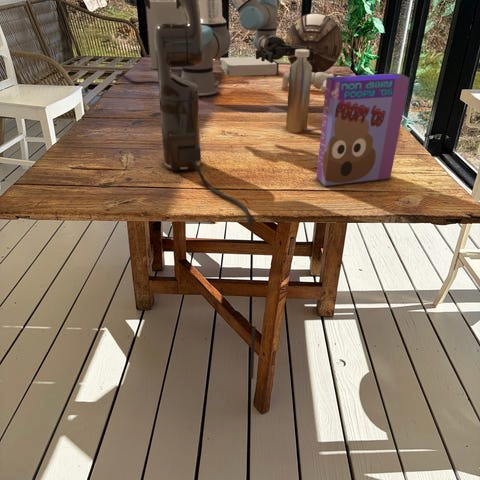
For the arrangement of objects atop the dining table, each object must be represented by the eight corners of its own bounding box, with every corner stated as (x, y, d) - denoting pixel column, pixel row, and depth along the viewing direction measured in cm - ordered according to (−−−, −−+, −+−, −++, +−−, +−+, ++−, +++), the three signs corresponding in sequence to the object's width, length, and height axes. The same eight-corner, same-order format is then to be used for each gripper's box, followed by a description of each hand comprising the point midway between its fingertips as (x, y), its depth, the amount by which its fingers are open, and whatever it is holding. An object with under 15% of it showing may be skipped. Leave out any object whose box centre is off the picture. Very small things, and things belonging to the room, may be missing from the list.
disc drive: (278, 75, 213) (279, 63, 210) (229, 76, 208) (229, 64, 206) (267, 67, 228) (267, 55, 225) (221, 68, 223) (221, 57, 220)
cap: (309, 55, 138) (309, 49, 137) (309, 57, 135) (309, 51, 134) (294, 54, 139) (295, 48, 138) (294, 57, 135) (295, 51, 134)
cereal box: (324, 186, 112) (336, 81, 99) (316, 178, 116) (326, 76, 103) (390, 178, 116) (409, 77, 103) (379, 171, 120) (397, 72, 107)
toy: (311, 101, 176) (313, 82, 172) (274, 86, 194) (275, 69, 190) (361, 94, 186) (364, 75, 182) (322, 80, 204) (323, 63, 201)
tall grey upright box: (195, 63, 233) (193, -1, 218) (192, 69, 220) (189, 2, 206) (156, 62, 233) (152, -2, 219) (150, 68, 221) (145, 1, 206)
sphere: (341, 70, 223) (348, 11, 211) (336, 82, 203) (343, 17, 190) (288, 66, 229) (292, 9, 216) (278, 77, 208) (281, 14, 196)
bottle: (306, 127, 150) (313, 50, 138) (306, 133, 145) (313, 54, 133) (286, 126, 151) (291, 49, 139) (285, 132, 145) (290, 53, 134)
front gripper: (134, -56, 131) (139, 10, 139) (185, -55, 133) (188, 9, 142) (133, -55, 137) (139, 7, 145) (183, -55, 140) (186, 7, 148)
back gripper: (305, 56, 175) (327, 67, 157) (239, 60, 170) (254, 71, 152) (307, 34, 171) (329, 43, 153) (239, 37, 166) (254, 46, 149)
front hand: (163, 8), depth 144 cm, fingers open, 8 cm apart
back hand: (292, 57), depth 153 cm, fingers open, 13 cm apart
